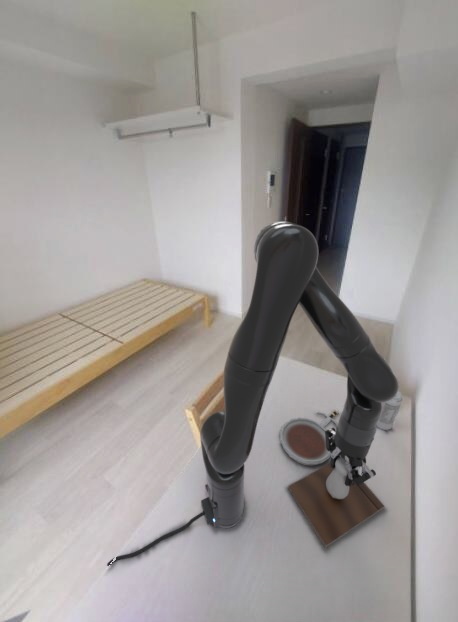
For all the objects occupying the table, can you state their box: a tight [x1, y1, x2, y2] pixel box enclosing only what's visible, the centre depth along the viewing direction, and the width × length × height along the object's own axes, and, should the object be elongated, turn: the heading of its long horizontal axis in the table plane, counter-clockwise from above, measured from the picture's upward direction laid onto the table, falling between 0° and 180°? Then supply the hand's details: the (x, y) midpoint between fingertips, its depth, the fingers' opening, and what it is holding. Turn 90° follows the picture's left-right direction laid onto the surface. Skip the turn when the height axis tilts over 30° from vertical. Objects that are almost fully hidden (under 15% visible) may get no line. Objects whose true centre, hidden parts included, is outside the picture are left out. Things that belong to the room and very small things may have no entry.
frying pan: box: [279, 409, 340, 467], centre depth 92 cm, size 17×3×28 cm
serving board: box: [287, 463, 385, 549], centre depth 74 cm, size 20×15×2 cm
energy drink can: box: [376, 390, 403, 431], centre depth 92 cm, size 6×6×15 cm
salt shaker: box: [326, 456, 349, 499], centre depth 70 cm, size 6×6×13 cm
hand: (341, 474), depth 69 cm, fingers closed on salt shaker, 4 cm apart
